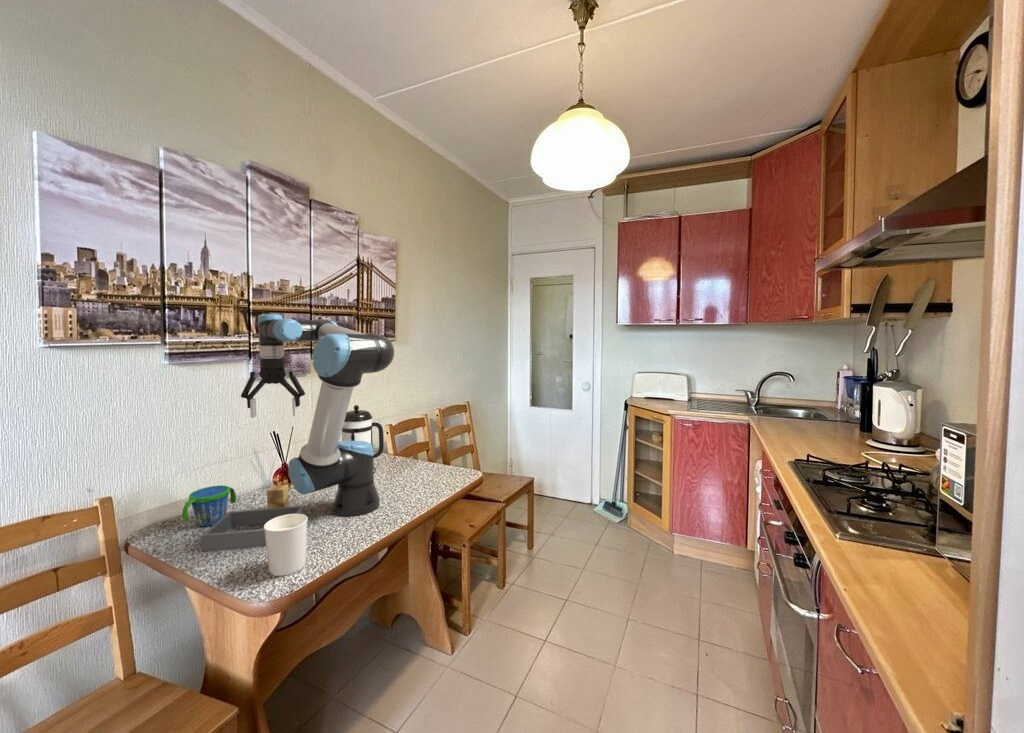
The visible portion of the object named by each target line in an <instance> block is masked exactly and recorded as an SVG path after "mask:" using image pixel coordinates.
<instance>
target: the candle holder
mask: <svg viewBox="0 0 1024 733" xmlns="http://www.w3.org/2000/svg"><path fill="white" fill-rule="evenodd" d="M308 518H309V517H308V516H307V515H306V514H305V515H303V514H287V515H283V516H279V517H276V518H274V519H271V520H270V521H268V522H267V523H266V524H263V529H264V532H265V541H266V546H265V548H266V557H267V564H268V571H269V574H271V575H272V576H275V577H282V576H283V577H284V576H288V575H292V574H294V573H297V572H299V571H300V570H302V569H303V568H304V567H305V565H307V564H306V563H307V550H308V548H307V546H308V543H307V541H308Z"/></svg>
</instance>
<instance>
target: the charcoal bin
mask: <svg viewBox="0 0 1024 733" xmlns="http://www.w3.org/2000/svg"><path fill="white" fill-rule="evenodd" d="M287 514H303V515H306V504H305V505H295V506H289V507H280V508H268V507H267V508H257V509H245V510H235V511H234V510H231V511H227V514H226V515H225V516H223V517H222V518H221V519H220V520H219V521H218V522H216V523H215V524H214V525H211V527H210V528H208V529H207V530H206V531H205V532H204V533H203V534H202V535H200V542H201V545H200V546H201V547H200V548H201V552H202V551H204V552H215V551H221V550H222V551H223V550H234V549H235V550H236V549H244V548H245V549H246V548H253V547H254V548H255V547H262V546H263V547H264V546H265V547H266V541H265V532H264V528H258V529H247V530H237V531H236V530H235V531H229V530H230V529H231V528H232V527H241V526H253V525H265V524H266V523H267V522H268V521H270V520H271V519H274V518H276V517H279V516H283V515H287Z"/></svg>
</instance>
